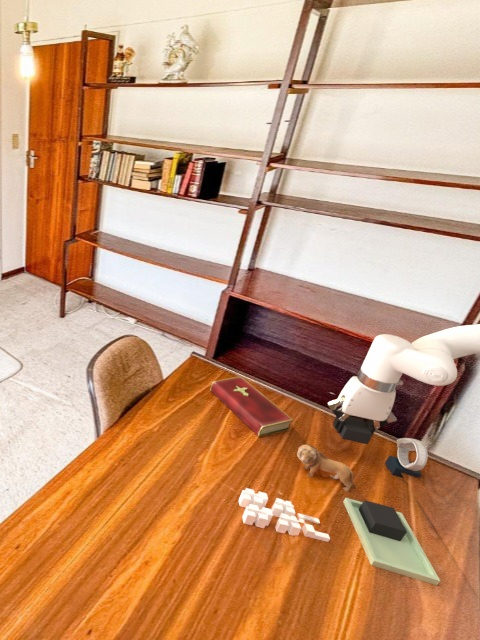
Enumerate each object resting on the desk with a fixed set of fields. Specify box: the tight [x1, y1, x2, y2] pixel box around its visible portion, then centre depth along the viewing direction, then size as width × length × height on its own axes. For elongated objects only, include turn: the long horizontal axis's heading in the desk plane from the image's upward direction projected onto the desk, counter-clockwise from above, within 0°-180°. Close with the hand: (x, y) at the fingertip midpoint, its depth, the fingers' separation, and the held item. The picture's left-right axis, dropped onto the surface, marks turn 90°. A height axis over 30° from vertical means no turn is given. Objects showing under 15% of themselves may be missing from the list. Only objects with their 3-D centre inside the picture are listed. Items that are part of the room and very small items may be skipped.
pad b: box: [338, 416, 373, 445], centre depth 109 cm, size 6×6×4 cm
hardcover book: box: [209, 375, 294, 438], centre depth 126 cm, size 12×21×4 cm, turn 16°
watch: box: [384, 437, 429, 479], centre depth 105 cm, size 6×8×11 cm
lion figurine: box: [296, 444, 356, 493], centre depth 103 cm, size 15×5×9 cm, turn 68°
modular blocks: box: [238, 487, 331, 543], centre depth 92 cm, size 20×7×4 cm, turn 75°
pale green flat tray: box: [343, 497, 441, 586], centre depth 90 cm, size 12×16×2 cm
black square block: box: [359, 499, 407, 541], centre depth 92 cm, size 6×6×4 cm
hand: (350, 432), depth 109 cm, fingers closed on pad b, 6 cm apart
